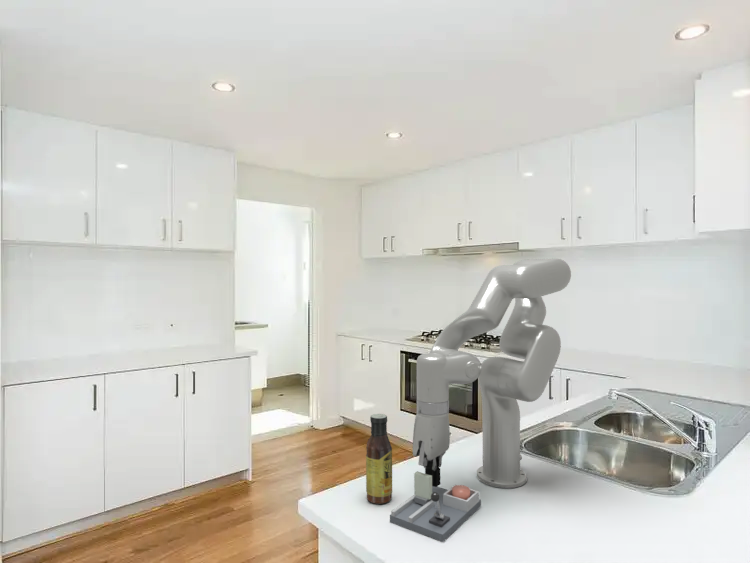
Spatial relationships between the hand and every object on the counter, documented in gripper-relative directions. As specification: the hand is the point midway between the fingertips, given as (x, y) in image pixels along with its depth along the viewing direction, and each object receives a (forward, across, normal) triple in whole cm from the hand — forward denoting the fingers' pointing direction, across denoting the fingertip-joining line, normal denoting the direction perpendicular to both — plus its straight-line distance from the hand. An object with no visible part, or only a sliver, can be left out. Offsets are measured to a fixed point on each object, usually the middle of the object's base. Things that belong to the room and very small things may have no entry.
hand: (432, 484), depth 111 cm
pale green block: (+2, +4, 0) cm, 5 cm away
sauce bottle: (+4, +6, -11) cm, 13 cm away
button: (+2, -1, +7) cm, 8 cm away
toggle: (+2, +9, +7) cm, 12 cm away
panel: (+4, +4, +4) cm, 7 cm away
